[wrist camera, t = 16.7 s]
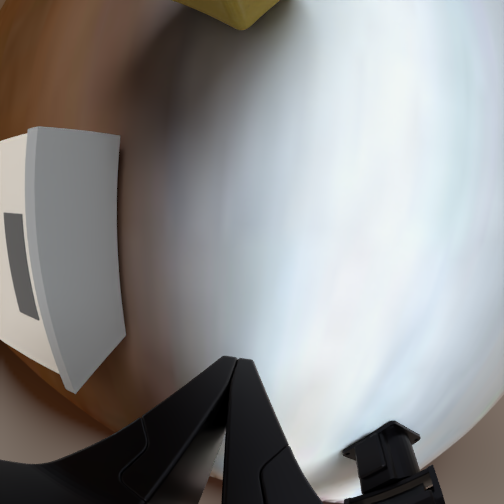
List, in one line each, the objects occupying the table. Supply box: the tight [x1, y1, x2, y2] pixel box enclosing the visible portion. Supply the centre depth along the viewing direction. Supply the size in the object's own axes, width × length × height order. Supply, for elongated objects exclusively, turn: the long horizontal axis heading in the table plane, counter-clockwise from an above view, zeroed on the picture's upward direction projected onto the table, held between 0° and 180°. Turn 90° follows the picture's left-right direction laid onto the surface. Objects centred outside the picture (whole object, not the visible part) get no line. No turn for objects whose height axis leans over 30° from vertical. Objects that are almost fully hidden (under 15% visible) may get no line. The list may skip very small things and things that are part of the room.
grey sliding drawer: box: [25, 127, 126, 394], centre depth 14 cm, size 12×14×7 cm
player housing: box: [0, 133, 60, 374], centre depth 15 cm, size 12×14×7 cm
